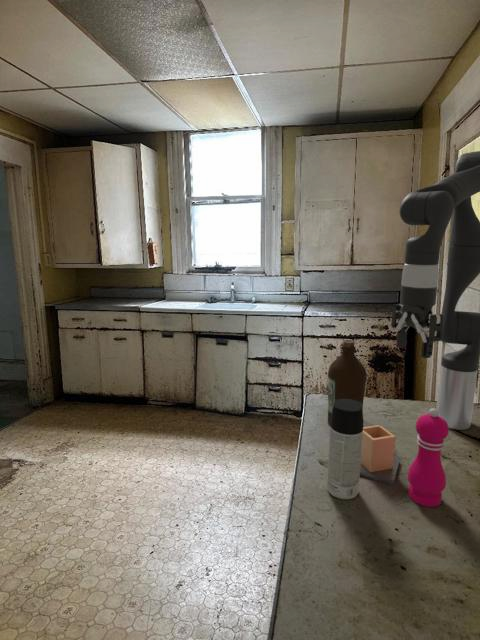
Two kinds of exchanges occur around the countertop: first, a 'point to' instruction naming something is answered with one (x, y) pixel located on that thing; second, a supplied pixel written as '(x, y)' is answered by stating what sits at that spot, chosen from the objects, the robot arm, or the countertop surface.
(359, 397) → the olive oil
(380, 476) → the flange
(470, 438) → the countertop surface
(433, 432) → the pepper mill
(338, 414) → the spray can
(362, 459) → the duct sleeve
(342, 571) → the countertop surface
